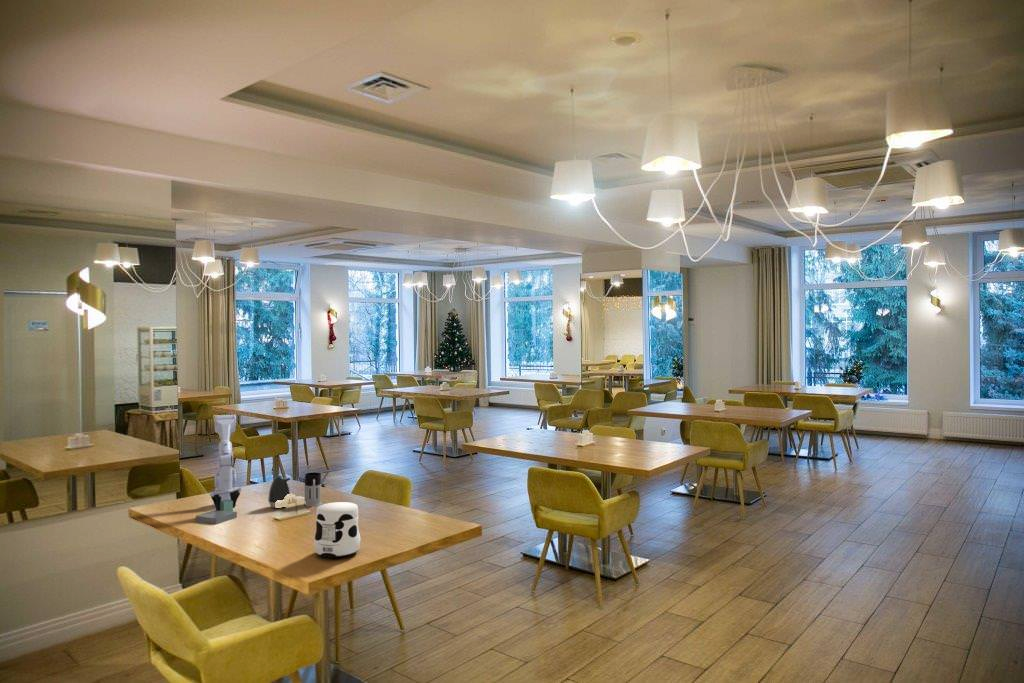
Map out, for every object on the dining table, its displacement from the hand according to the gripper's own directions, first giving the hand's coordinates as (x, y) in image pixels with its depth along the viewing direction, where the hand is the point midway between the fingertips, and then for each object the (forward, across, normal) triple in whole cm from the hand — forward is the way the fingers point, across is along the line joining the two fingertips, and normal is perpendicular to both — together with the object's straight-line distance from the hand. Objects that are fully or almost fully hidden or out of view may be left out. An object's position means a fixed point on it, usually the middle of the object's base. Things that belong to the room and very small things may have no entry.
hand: (225, 509), depth 319 cm
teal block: (+2, 0, 0) cm, 2 cm away
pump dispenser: (+2, +22, -10) cm, 24 cm away
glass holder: (+2, +34, -20) cm, 40 cm away
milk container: (+3, -6, -88) cm, 88 cm away
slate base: (+2, -8, -6) cm, 10 cm away
